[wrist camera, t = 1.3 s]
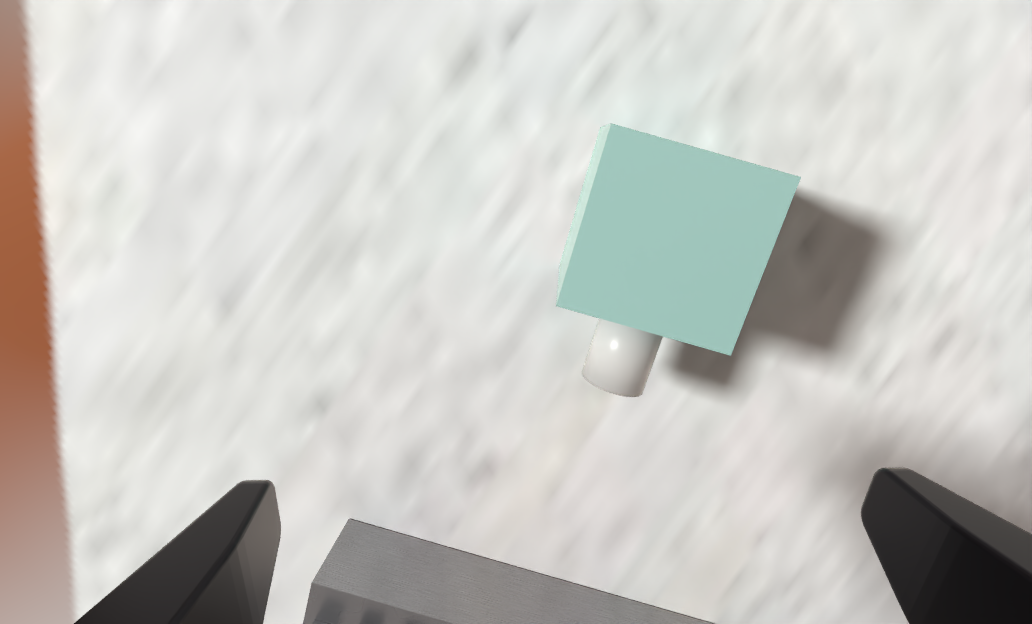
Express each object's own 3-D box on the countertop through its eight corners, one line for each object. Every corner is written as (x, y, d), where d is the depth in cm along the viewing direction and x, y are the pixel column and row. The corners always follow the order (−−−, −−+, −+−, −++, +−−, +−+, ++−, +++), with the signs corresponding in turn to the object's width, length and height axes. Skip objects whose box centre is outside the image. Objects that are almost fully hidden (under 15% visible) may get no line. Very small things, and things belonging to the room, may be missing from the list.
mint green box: (739, 166, 22) (800, 177, 16) (669, 360, 24) (700, 431, 18) (600, 127, 22) (610, 123, 16) (541, 324, 24) (532, 383, 18)
